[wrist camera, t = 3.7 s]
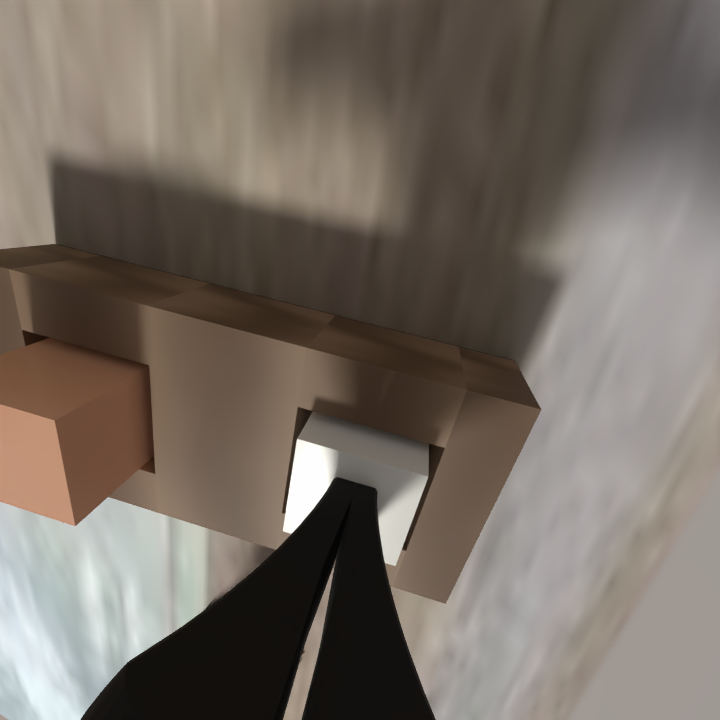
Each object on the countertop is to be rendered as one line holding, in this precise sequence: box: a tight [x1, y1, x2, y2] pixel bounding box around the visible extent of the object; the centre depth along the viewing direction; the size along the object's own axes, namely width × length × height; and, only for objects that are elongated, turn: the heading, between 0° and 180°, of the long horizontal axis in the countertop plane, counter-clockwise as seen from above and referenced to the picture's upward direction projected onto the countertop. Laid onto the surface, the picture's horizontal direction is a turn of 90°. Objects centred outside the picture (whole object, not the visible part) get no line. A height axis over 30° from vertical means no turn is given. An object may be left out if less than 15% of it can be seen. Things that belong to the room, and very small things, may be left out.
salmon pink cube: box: [0, 338, 154, 526], centre depth 12 cm, size 4×4×4 cm
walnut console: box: [0, 244, 541, 604], centre depth 14 cm, size 19×9×4 cm, turn 78°
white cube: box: [283, 411, 429, 566], centre depth 13 cm, size 4×4×4 cm
